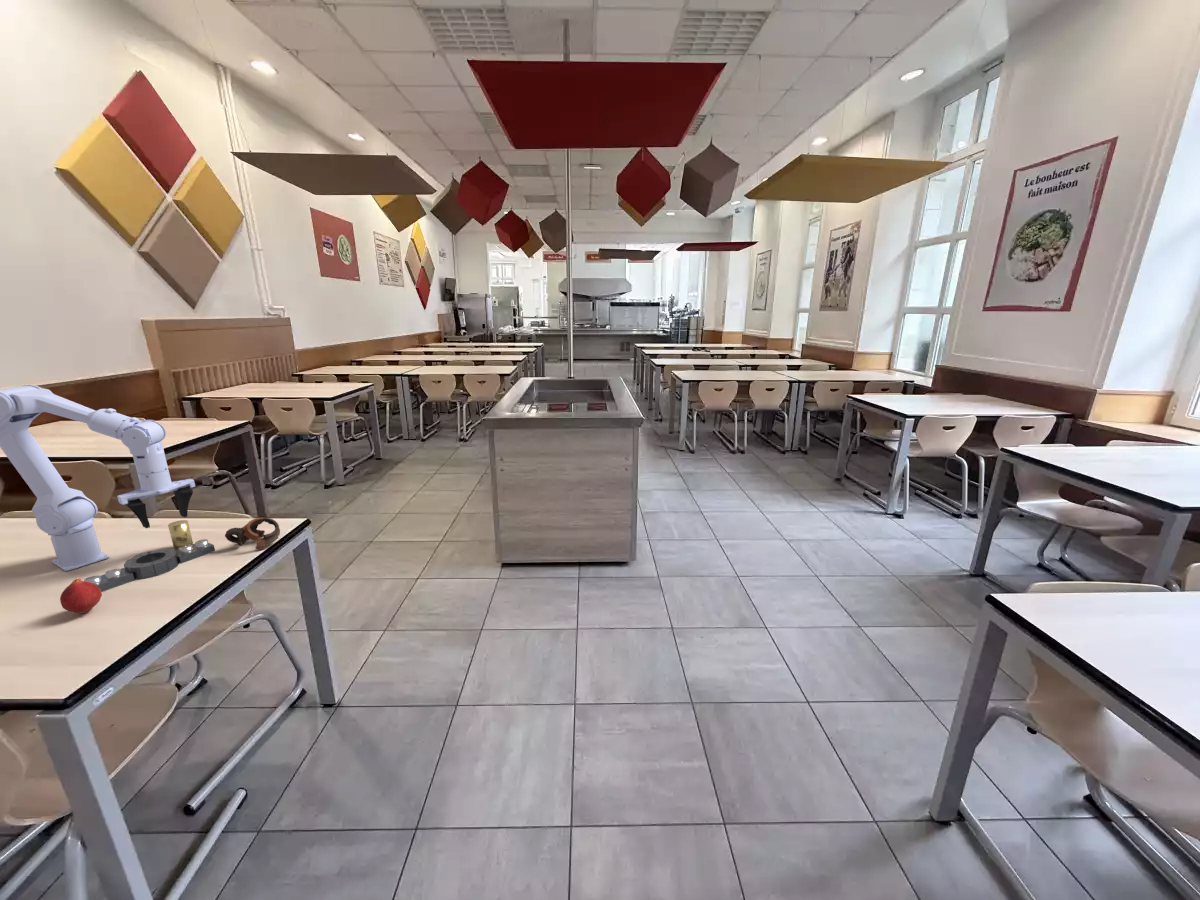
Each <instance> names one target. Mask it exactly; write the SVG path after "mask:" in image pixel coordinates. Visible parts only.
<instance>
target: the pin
mask: <svg viewBox="0 0 1200 900" xmlns="http://www.w3.org/2000/svg"><path fill="white" fill-rule="evenodd" d="M167 526H168V530H169V534H170V539H171V542H172V547H173V549H174V550H178V549H179V548H180V547H181V546H184V545H193V544H194V541H193V537H192V533H191V529H190V525H189V521H188V520H185V519H184V520H183V519H182V520H176V521H173V522H171V523H169V524H168V525H167Z"/></svg>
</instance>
